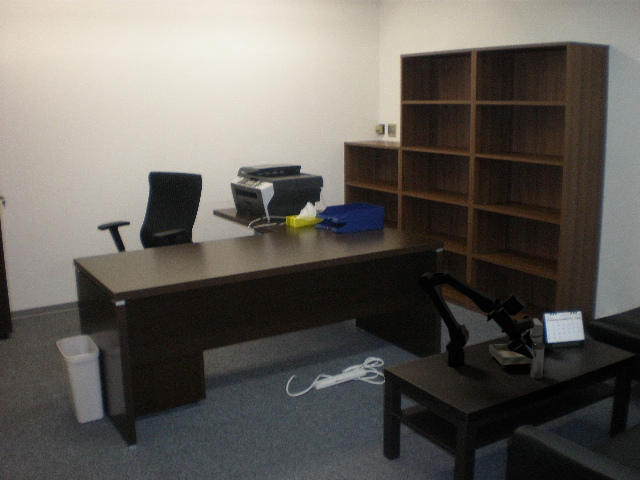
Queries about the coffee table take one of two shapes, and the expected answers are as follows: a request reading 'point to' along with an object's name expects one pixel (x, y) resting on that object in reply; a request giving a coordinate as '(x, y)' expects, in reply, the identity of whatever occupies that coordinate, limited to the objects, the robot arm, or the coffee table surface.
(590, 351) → the coffee table surface
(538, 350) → the metal canister
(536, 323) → the ink box
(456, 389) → the coffee table surface
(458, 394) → the coffee table surface
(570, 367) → the coffee table surface
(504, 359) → the shallow grey tray
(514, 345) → the robot arm
